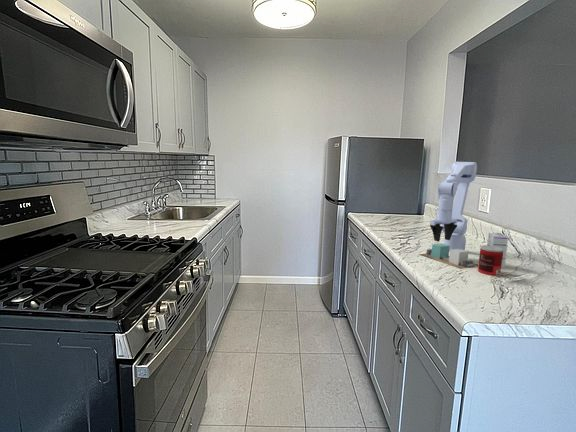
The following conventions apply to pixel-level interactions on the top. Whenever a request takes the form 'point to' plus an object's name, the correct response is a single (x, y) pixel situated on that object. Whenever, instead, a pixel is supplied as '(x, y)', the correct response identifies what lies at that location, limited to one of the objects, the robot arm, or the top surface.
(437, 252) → the teal module
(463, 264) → the steel rail
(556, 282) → the top surface
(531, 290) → the top surface
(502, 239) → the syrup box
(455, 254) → the grey module
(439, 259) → the mounting board
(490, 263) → the canned food
